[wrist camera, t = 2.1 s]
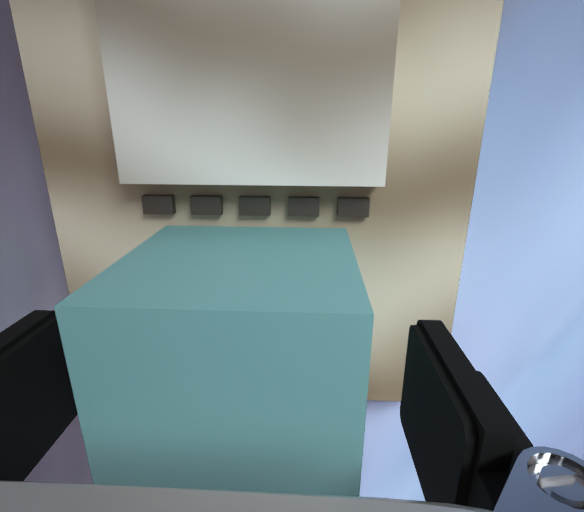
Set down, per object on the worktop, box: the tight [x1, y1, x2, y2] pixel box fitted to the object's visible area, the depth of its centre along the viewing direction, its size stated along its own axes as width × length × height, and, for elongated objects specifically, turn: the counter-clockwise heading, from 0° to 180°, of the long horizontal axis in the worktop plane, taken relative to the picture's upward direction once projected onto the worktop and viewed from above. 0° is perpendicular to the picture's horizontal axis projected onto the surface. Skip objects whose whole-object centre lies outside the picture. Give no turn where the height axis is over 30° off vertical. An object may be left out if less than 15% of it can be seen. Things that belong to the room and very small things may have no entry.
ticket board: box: [9, 0, 504, 401], centre depth 13 cm, size 18×14×3 cm
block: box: [54, 225, 374, 497], centre depth 11 cm, size 5×6×6 cm
